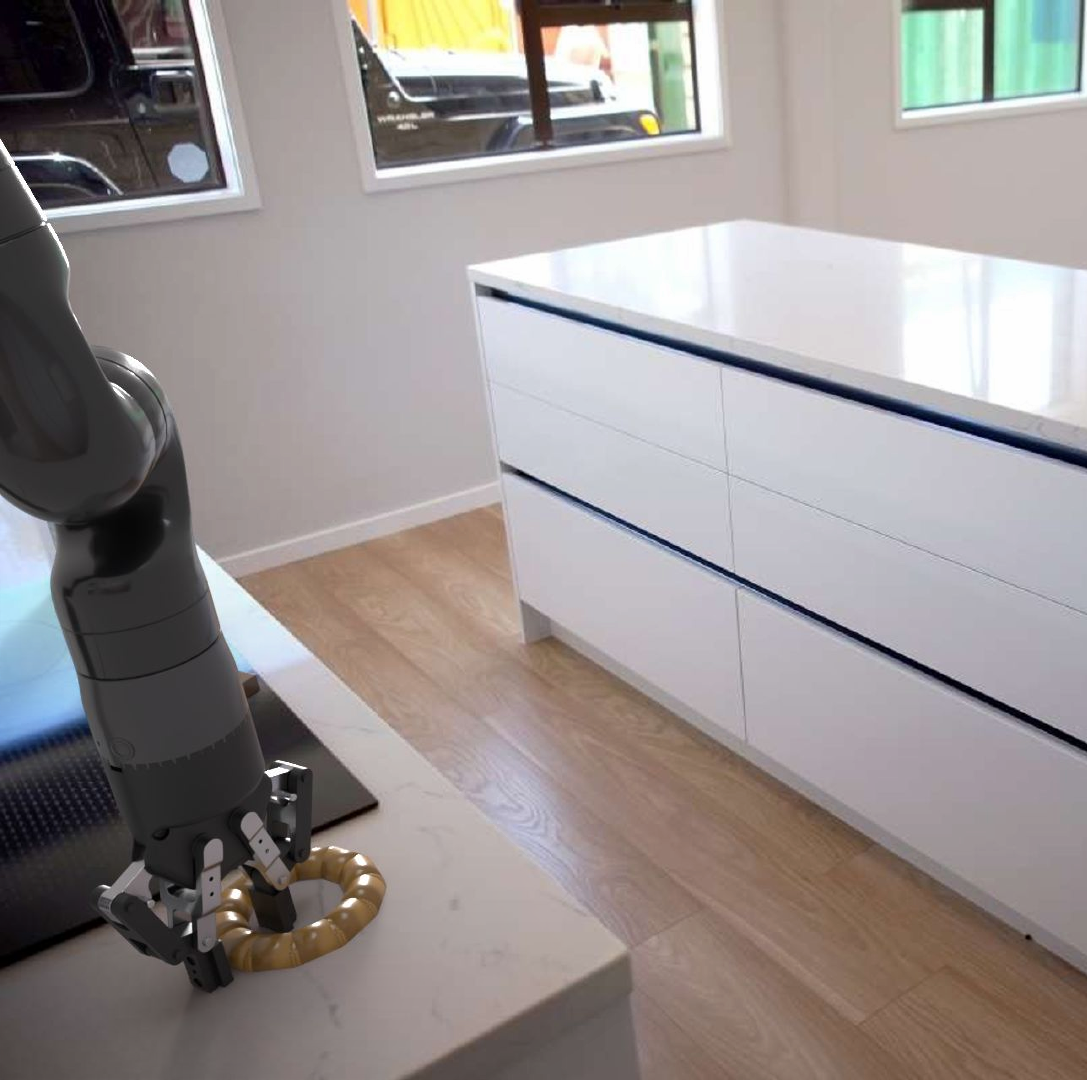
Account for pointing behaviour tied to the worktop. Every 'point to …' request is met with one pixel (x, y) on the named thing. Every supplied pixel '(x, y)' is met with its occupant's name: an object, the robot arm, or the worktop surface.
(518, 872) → the worktop surface
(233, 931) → the ring
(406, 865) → the worktop surface
